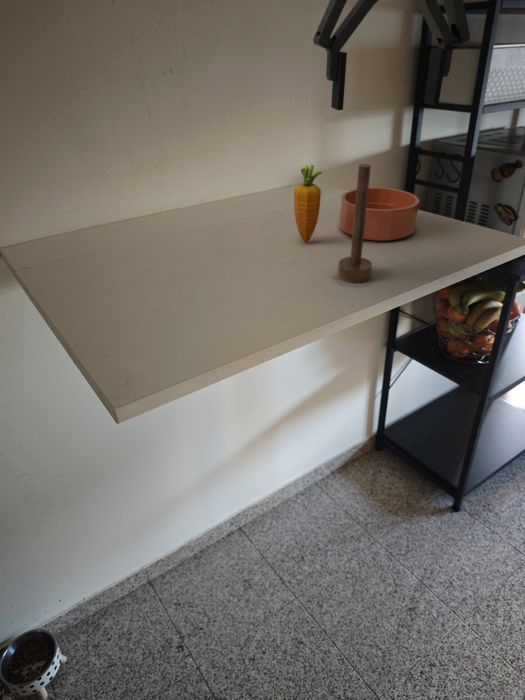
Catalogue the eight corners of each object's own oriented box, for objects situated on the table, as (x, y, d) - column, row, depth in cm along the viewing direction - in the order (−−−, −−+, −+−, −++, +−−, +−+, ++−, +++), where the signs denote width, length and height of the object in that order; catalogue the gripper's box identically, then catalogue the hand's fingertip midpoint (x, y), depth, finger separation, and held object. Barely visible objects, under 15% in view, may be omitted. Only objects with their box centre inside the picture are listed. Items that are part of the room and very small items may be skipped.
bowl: (417, 220, 108) (422, 190, 105) (409, 246, 96) (415, 213, 93) (347, 214, 113) (349, 184, 109) (331, 237, 101) (333, 206, 97)
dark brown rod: (373, 271, 87) (386, 162, 77) (367, 285, 83) (380, 171, 73) (341, 267, 89) (350, 159, 79) (334, 280, 84) (342, 168, 74)
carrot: (306, 236, 101) (308, 159, 93) (323, 243, 98) (328, 164, 90) (287, 242, 99) (289, 164, 91) (305, 249, 96) (308, 169, 87)
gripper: (489, -94, 61) (454, 99, 73) (292, -98, 57) (289, 106, 69) (528, -107, 55) (483, 106, 67) (310, -112, 51) (303, 114, 63)
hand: (384, 106), depth 68 cm, fingers open, 13 cm apart
